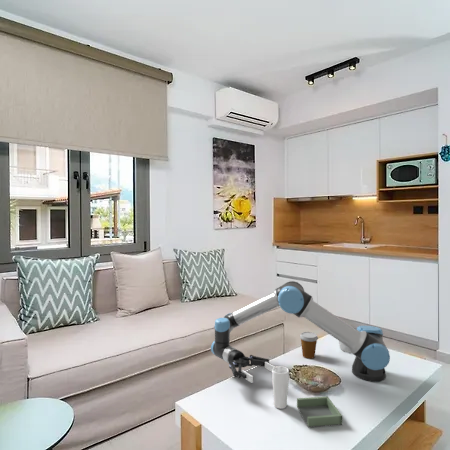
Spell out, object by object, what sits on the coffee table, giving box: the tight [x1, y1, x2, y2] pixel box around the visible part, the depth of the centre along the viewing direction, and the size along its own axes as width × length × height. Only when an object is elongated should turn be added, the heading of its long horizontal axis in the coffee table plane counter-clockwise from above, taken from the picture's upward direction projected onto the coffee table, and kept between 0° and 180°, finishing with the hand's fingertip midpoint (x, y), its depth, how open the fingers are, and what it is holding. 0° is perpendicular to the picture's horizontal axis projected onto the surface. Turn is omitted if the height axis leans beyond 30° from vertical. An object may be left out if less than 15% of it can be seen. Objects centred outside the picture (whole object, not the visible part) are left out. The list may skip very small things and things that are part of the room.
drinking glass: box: [271, 365, 290, 410], centre depth 135 cm, size 7×7×15 cm
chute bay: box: [296, 396, 343, 429], centre depth 129 cm, size 13×13×4 cm
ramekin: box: [338, 340, 352, 354], centre depth 190 cm, size 13×13×7 cm
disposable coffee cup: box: [299, 331, 319, 360], centre depth 181 cm, size 10×10×12 cm
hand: (264, 374), depth 143 cm, fingers open, 13 cm apart
